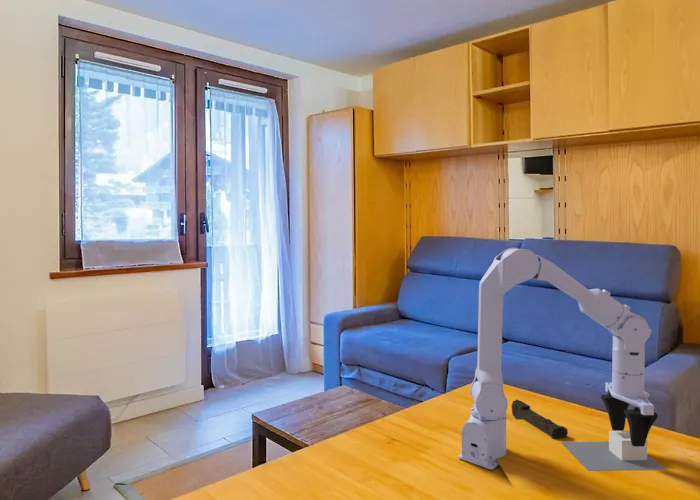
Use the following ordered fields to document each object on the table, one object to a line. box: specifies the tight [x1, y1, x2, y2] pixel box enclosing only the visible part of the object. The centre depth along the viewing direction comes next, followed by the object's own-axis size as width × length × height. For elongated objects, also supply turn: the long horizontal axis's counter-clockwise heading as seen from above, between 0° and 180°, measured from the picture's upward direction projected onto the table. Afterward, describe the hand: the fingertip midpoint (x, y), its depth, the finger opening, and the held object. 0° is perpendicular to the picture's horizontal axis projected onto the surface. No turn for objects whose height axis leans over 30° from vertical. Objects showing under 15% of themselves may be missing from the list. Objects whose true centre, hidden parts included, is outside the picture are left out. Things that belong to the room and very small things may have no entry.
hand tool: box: [510, 399, 569, 440], centre depth 121 cm, size 19×4×5 cm, turn 12°
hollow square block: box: [608, 429, 648, 461], centre depth 103 cm, size 5×5×4 cm
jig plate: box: [560, 438, 668, 472], centre depth 103 cm, size 15×13×4 cm
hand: (627, 437), depth 103 cm, fingers open, 7 cm apart
